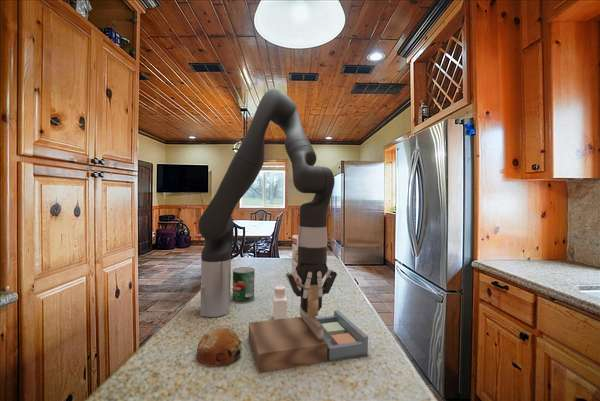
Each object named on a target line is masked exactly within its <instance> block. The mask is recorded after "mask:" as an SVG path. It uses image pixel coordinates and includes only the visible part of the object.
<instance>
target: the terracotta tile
mask: <svg viewBox="0 0 600 401" xmlns="http://www.w3.org/2000/svg"><path fill="white" fill-rule="evenodd" d="M331 342H332V344H333V345H339V344H346V343H352V342H357V341H356V340H355V339H354V338H353V337H352V336H351V335H350V334H349V333H344V334H337V335H331Z"/></svg>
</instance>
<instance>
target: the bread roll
mask: <svg viewBox="0 0 600 401" xmlns="http://www.w3.org/2000/svg"><path fill="white" fill-rule="evenodd" d="M241 343H242V341H241V339H240V337H239V335H238V334H237V333H236V331H235V330H234V329H232V328H230V327H226V326H224V327H223V326H222V327H221V326H220V327H215V328H213V329H211V330H209V331H208V332H206V333H205V334H203V336H202V337H201V339H200V340H199V342H198V344H197V347H196V348H197V349H196V356H197V359H198V360H199V362H200V363H202V364H205V365H208V366H212V367H220V366H222V367H223V366H226V365H229V364H231V363H233V362H235V361H236V360H237V359H238V358H240V354H241V352H242V350H243V347H242V346H241V345H242V344H241Z"/></svg>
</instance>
